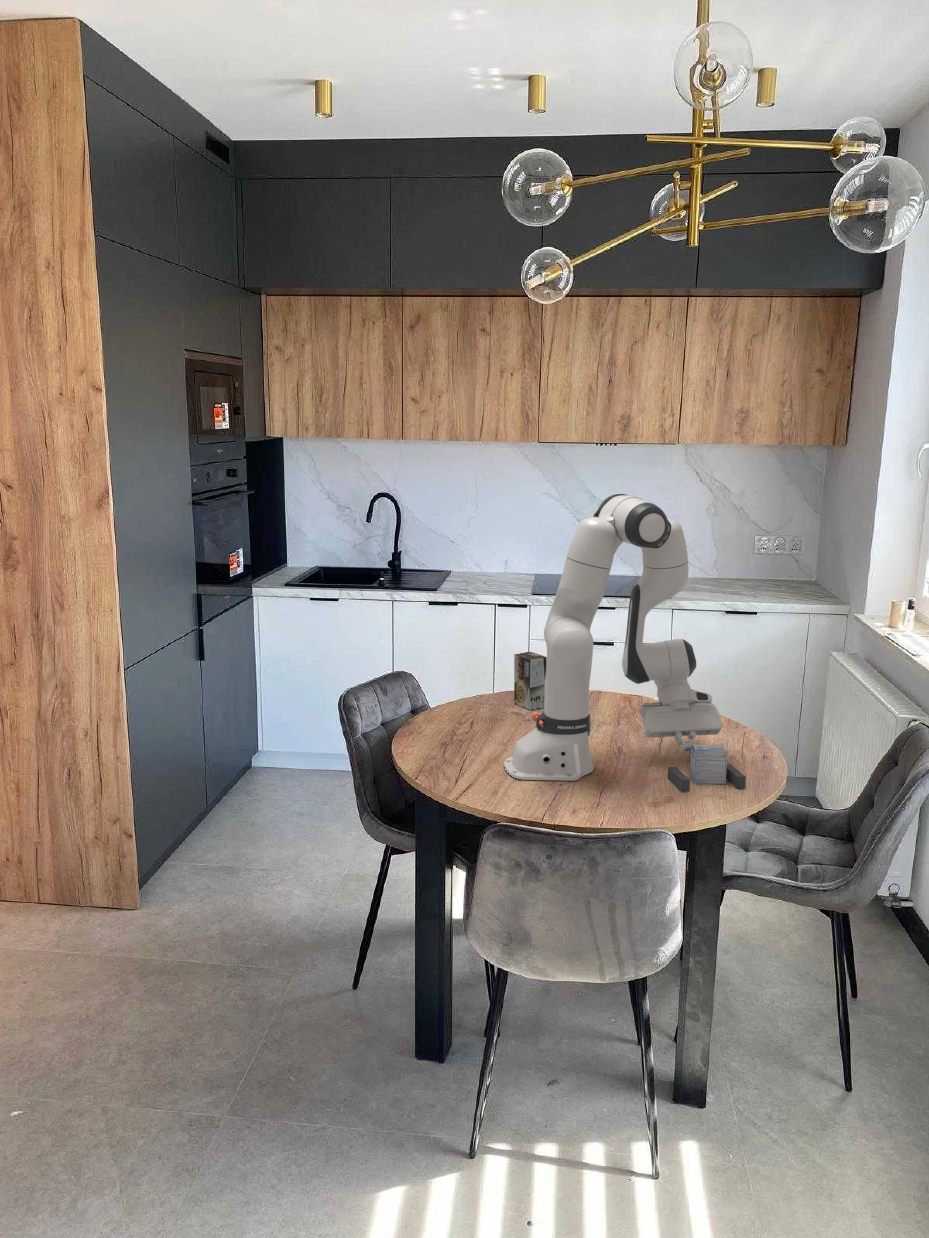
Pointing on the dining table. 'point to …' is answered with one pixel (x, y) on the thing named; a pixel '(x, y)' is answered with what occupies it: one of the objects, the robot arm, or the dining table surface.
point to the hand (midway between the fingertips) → (688, 749)
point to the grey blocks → (684, 783)
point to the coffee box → (529, 679)
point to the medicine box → (708, 764)
